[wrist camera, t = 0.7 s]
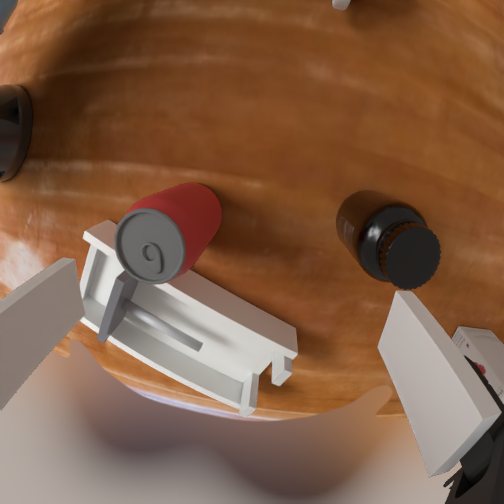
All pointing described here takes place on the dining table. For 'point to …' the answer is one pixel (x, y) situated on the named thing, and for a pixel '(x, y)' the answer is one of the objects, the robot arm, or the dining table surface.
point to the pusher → (135, 313)
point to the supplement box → (483, 354)
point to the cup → (340, 4)
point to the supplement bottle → (388, 239)
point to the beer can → (167, 232)
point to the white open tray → (191, 328)
